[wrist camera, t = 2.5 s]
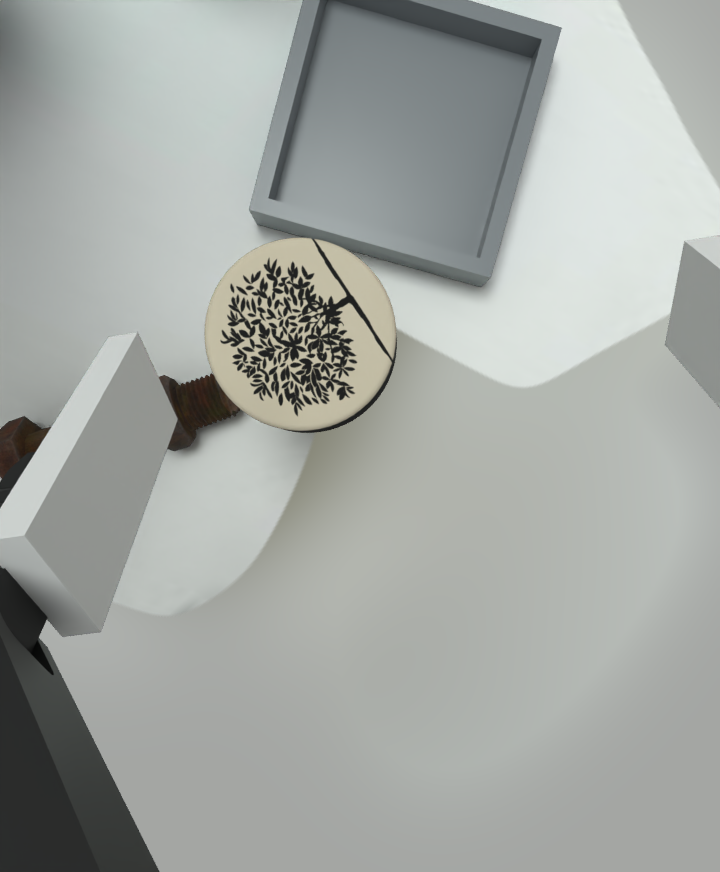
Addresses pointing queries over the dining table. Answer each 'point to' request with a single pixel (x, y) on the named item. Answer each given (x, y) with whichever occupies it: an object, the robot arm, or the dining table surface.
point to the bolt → (188, 401)
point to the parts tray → (404, 129)
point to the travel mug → (301, 335)
